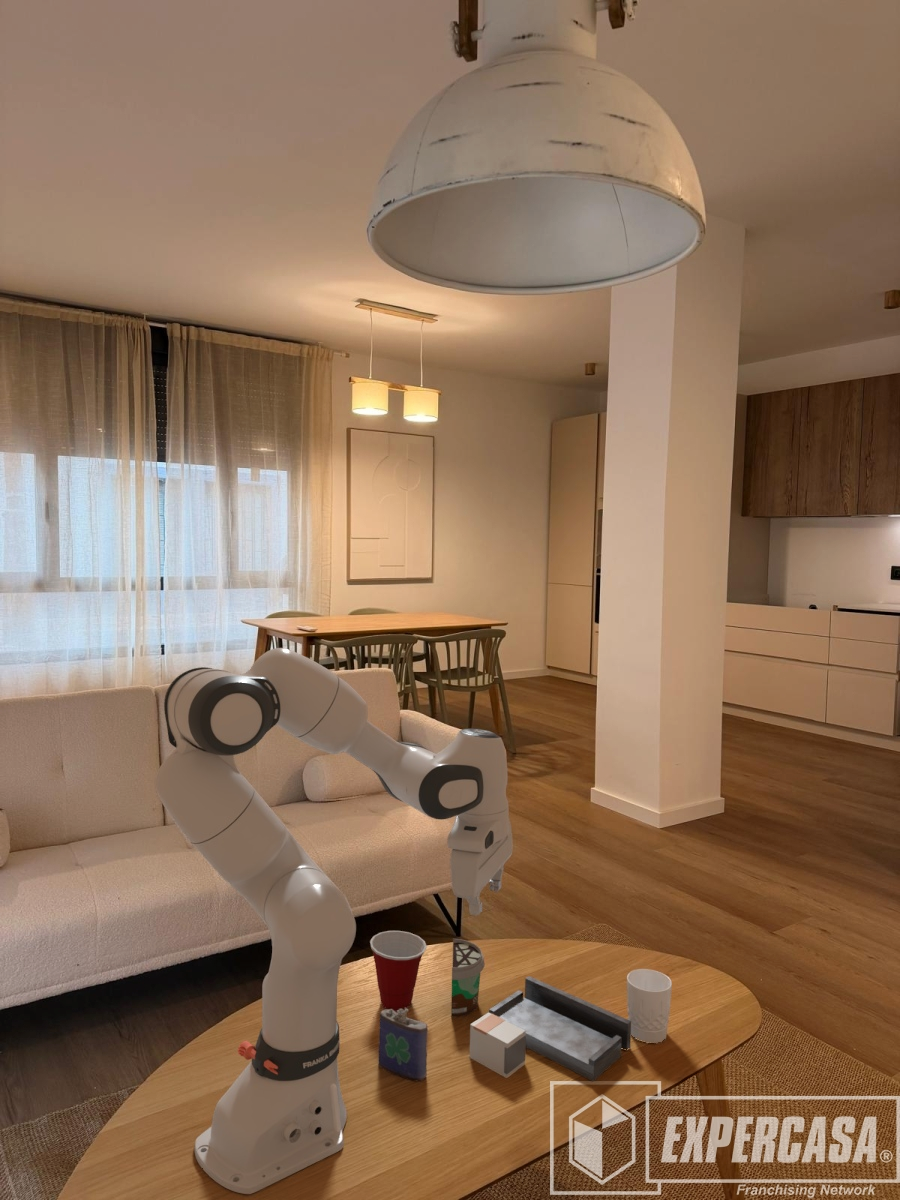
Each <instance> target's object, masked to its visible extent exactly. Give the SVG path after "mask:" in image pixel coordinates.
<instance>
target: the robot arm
mask: <svg viewBox="0 0 900 1200" xmlns="http://www.w3.org/2000/svg"><path fill="white" fill-rule="evenodd" d="M163 708H164V715H165V716H164V718H165V721H166V722H165V723H166V728H167V736H168V742H169V743H170V745H171V746H172V747H174V748H175V750H174V751H173V752H172V753H171V754H170V755H169V756H167V758H165V759H164V761H163V762H162V763H161V765H160V767H159V768H158V770H157V772H156V774H155V778H154V789H155V792H156V794H157V796H158V798H159V800H160V802H161V804H162V805H163V807H164V809H165V810H166V811H167V813H168V815H169V816H170V818H171V819H172V820H173V823H174V824H175V825H176V826H177V828H178V829H179V830H180V832H181V833H182V834H183V835H184V836H185V838H186V839H187V840H188V841H189V842H190V843H191V844H192V846H194V847H195V849H196V850H197V852H199V854H200V855H201V856H202V857H203V858H204V859H205V860H206V861H207V863H209V865H210V866H211V867H212V868H213V869H214V870H215V871H216V872H217V873H218V875H219V876H220V877H221V878H222V879H223V880H224V881H225V882H227V884H229V885H230V886H231V887H232V888H233V889H234V890H235V891H236V893H238V894H240V896H241V897H242V898H243V899H244V900H245V901H246V903H248V904H249V905H250V906H251V907H252V909H253V910H254V911H255V912H256V913H257V915H258V916H259V917H260V918H261V919H262V921H263V922H264V924H265V926H266V927H267V929H268V931H269V935H270V938H271V946H272V949H271V950H272V953H271V960H270V964H269V969H268V973H267V974H266V975H265V976H264V979H263V981H262V988H261V989H262V992H261V993H262V996H261V999H262V1002H261V1003H262V1007H261V1008H262V1009H261V1010H262V1012H261V1013H262V1015H261V1017H262V1020H261V1023H262V1026H261V1029H260V1030H259V1033H258V1037H257V1040H256V1042H255V1043H256V1044H255V1045H253V1044H251V1042H250V1041H249V1040H244V1041H242V1042H241V1043H240V1044H239V1046H238V1049H237V1053H238V1055H240V1056H241V1057H243V1058H244V1060H247V1061H249V1060H251V1061H250V1062H249V1063H248V1065H246V1067H245V1068H244V1069H243V1070H242V1072H241V1073H240V1074H239V1076H238V1077H237V1078H236V1079H235V1081H234V1082H233V1083H232V1085H230V1087H229V1088H228V1089H227V1091H226V1092H225V1093H224V1094H223V1095H222V1096H221V1098H220V1099H219V1100H218V1102H217V1103H216V1106H215V1109H214V1111H213V1115H212V1122H211V1126H209V1127H208V1128H207V1129H206V1130H205V1131H203V1132H202V1133H201V1134H200V1135H198V1136H197V1137H196V1139H195V1141H194V1156H195V1159H196V1161H197V1163H198V1165H199V1166H200V1167H201V1169H202V1168H203V1169H202V1171H204V1172H205V1173H206V1174H207V1175H208V1177H209V1178H211V1179H212V1180H214V1182H216V1183H217V1184H219V1186H222V1187H223V1188H226V1189H227V1190H229V1191H232V1192H236V1193H238V1194H245V1195H252V1194H254V1193H256V1192H258V1191H261V1190H263V1189H265V1188H267V1187H268V1186H271V1185H273V1184H275V1183H277V1182H279V1181H281V1180H283V1179H285V1178H287V1177H289V1176H292V1175H293V1174H295V1173H297V1172H299V1171H302V1170H304V1169H305V1168H308V1167H309V1166H311V1165H313V1164H315V1163H318V1162H319V1161H322V1160H324V1159H325V1158H327V1157H329V1156H332V1155H334V1154H336V1153H337V1152H339V1151H341V1150H342V1149H343V1147H344V1144H345V1143H344V1133H343V1130H344V1127H345V1125H346V1122H347V1115H348V1114H347V1109H346V1106H345V1103H344V1100H343V1093H342V1089H341V1085H340V1084H341V1083H340V1078H339V1067H338V1056H339V1054H340V1044H341V1043H340V1025H339V1023H338V1021H337V1020H338V1019H337V1017H338V1016H337V1015H338V1012H337V1011H338V982H339V974H340V968H341V965H342V960H343V958H344V957H345V956H346V955H347V954H348V952H349V951H350V949H351V948H352V946H353V943H354V941H355V939H356V932H357V923H356V919H355V916H354V914H353V910H352V908H351V904H350V903H349V900H348V898H347V897H346V895H345V894H344V892H342V891H341V890H340V889H339V887H338V886H337V885H336V884H335V883H334V882H333V881H332V880H331V878H330V877H329V876H328V875H327V874H326V873H325V872H324V870H322V868H320V867H319V866H318V864H317V863H316V862H315V861H314V860H313V859H312V858H311V856H310V855H309V853H307V851H306V850H305V849H304V848H303V846H302V844H301V843H299V842H298V840H297V839H296V838H295V837H294V835H293V834H292V832H291V831H290V830H289V828H288V827H287V826H286V825H285V823H284V822H283V821H282V820H281V818H280V817H279V816H278V814H276V813H275V812H274V810H273V809H272V808H271V807H270V806H269V804H268V803H267V802H266V801H265V799H264V798H263V797H262V796H261V795H260V793H259V792H258V791H257V790H256V789H255V787H253V785H252V784H251V783H250V782H249V780H247V779H246V777H245V776H244V775H243V774H242V773H241V771H240V769H239V768H238V766H237V764H236V760H235V758H234V756H236V755H237V756H238V755H240V754H243V753H245V752H247V751H249V750H251V749H252V748H253V747H255V746H256V745H257V744H258V743H259V742H260V741H261V740H262V739H263V738H264V736H265V735H266V734H267V733H268V732H269V731H270V730H271V729H273V727H274V726H277V727H279V728H280V729H282V730H283V731H285V732H287V734H290V735H291V736H292V737H294V738H296V739H298V740H299V741H301V742H302V743H305V744H306V745H308V746H310V747H312V748H314V749H317V750H319V751H321V752H324V753H327V754H331V755H336V754H341V753H346V754H348V755H349V756H350V757H352V758H353V759H355V760H356V761H358V762H359V763H361V764H363V765H364V766H366V767H367V768H369V769H370V770H372V771H373V772H374V774H376V775H377V777H378V779H379V781H380V783H381V784H382V787H384V790H385V791H386V792H387V794H389V795H390V796H391V797H392V798H394V799H396V800H397V801H400V802H403V803H404V804H407V805H409V806H410V807H411V808H413V809H414V810H417V811H419V812H420V813H422V814H424V815H426V816H427V817H429V818H432V819H434V820H447V819H451V818H454V817H455V818H454V819H455V820H454V823H453V825H452V828H451V829H450V832H449V833H448V836H447V838H446V842H447V843H446V844H447V848H448V849H451V852H450V858H449V865H450V866H449V868H450V879H451V882H450V883H451V889H452V892H453V894H454V896H455V897H456V898H461V899H465V900H466V901H467V904H468V909H469V911H468V912H469V914H470V916H479V915H480V914H481V913H482V912H483V902H482V901H481V900H480V896H481V892H482V890H484V888H485V887H486V886H487V885H489V886H488V887H489V888H488V889H489V890H490V891H491V892H497V893H498V892H499V891H500V889H501V888H502V879H503V873H504V867H505V866H504V864H505V863H506V862H508V860H509V859H510V858H511V856H512V854H513V850H514V849H513V848H514V844H513V843H514V841H513V831H512V824H511V820H510V815H509V813H510V811H509V809H510V805H509V801H508V798H507V787H508V786H507V785H508V763H507V762H508V761H507V753H506V748H505V745H504V741H503V739H502V737H501V736H500V735H498V734H497V733H495V732H492V731H489V730H484V729H480V728H464V729H460V730H459V731H458V733H457V734H456V737H455V738H454V739H453V740H452V741H451V742H450V743H449V744H448V745H447V746H446V747H444V748H443V749H442V750H440V751H439V752H433V751H431V750H429V749H427V748H426V747H424V746H422V745H420V744H417V743H414V742H407V741H398V740H395V739H394V738H392V736H390V735H389V734H387V733H385V732H384V731H383V730H381V729H380V728H378V727H377V726H376V725H375V724H373V723H371V721H369V720H368V717H369V709H368V704H367V702H366V700H365V699H364V698H363V697H362V696H361V694H360V693H358V691H356V689H354V688H353V687H352V686H351V685H350V684H349V683H348V682H347V681H346V680H344V679H343V678H341V677H340V676H338V675H337V674H336V673H334V672H333V671H331V670H330V669H328V668H326V667H325V666H323V665H321V664H320V663H318V662H316V661H314V660H313V659H311V658H309V657H307V656H304V655H303V654H301V653H299V652H296V651H294V650H292V649H288V648H285V647H275V648H272V649H270V650H267V651H266V652H264V653H263V654H261V655H260V656H259V657H258V658H257V659H256V660H255V661H254V662H253V664H252V666H250V669H248V670H247V671H246V672H244V673H242V674H238V673H232V672H230V671H227V670H224V669H220V668H217V669H216V668H211V667H205V666H204V667H195V668H191V669H189V670H186V671H184V672H182V673H181V674H179V675H178V676H177V677H176V678H174V680H172V682H171V683H170V685H168V688H167V690H166V691H165V696H164V701H163Z"/></svg>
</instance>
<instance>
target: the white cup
mask: <svg viewBox="0 0 900 1200" xmlns="http://www.w3.org/2000/svg"><path fill="white" fill-rule="evenodd" d="M672 985H673V982H672V980H671V978H670V977H669V976H668V975H666V974H664V973H663V972H660V971H657V970H655V969H650V968H639V969H638V968H637V969H633V970H631V971H630V972H629V973H628V974H627V976H626V988H627V989H626V991H627V992H626V993H627V995H626V996H627V997H626V998H627V1000H626V1001H627V1002H626V1004H627V1016H628V1018H627V1019H628V1020H630V1021H631V1035H632V1036H634V1037H635V1038H637V1039H639V1040H642V1041H645V1042H649V1043H650V1042H651V1043H656V1044H658V1043H657V1042H661V1043H662V1041H663V1040H664V1039H665V1040H666V1039H667V1034H668V1024H669V1022H670V1021H669V1019H670V1010H671V1000H672V988H673V986H672ZM632 1036H631V1037H632ZM635 1038H634V1039H635ZM665 1040H664V1041H665ZM664 1041H663V1042H664Z"/></svg>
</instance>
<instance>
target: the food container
mask: <svg viewBox="0 0 900 1200" xmlns="http://www.w3.org/2000/svg"><path fill="white" fill-rule="evenodd" d="M484 959H485V958H484V955H483V952H482V949H481V948H480V947H479V946H478V945H476V944H475V943H474V942H471V941H468V940H467V939H466V940H465V939H460V938H452V967H451V1001H450V1002H451V1004H450V1005H451V1008H450V1009H451V1010H450V1011H451V1012H450V1015H451V1018H459V1017H465V1016H468V1015H470V1014H472V1013H473V1012H474V1011H476V1009H477V1007H478V1004H479V995H480V994H479V992H480V991H479V990H480V983H481V982H480V980H481V972H482V971H483V970H484V968H485V960H484Z"/></svg>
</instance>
